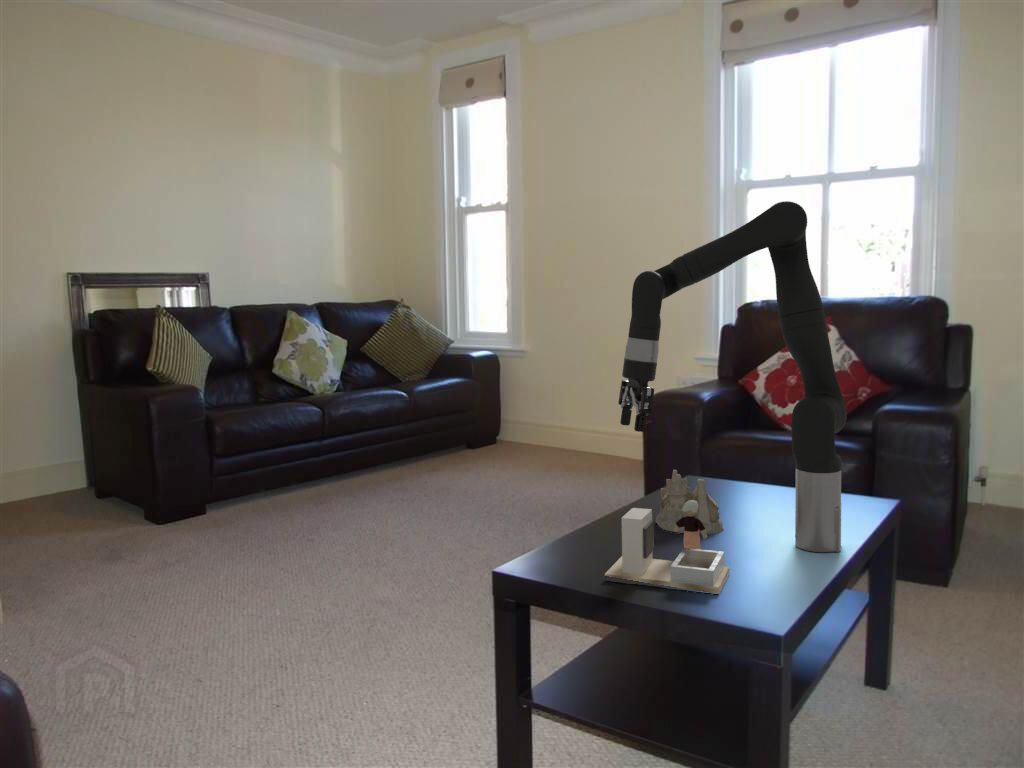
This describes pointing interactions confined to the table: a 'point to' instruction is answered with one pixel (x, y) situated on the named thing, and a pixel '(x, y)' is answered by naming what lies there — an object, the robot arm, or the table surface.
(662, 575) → the cream base plate
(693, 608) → the table surface
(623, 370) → the robot arm
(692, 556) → the slot walls
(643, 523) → the white box with panel
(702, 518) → the beige jagged towered block
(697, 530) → the grandmother figurine
